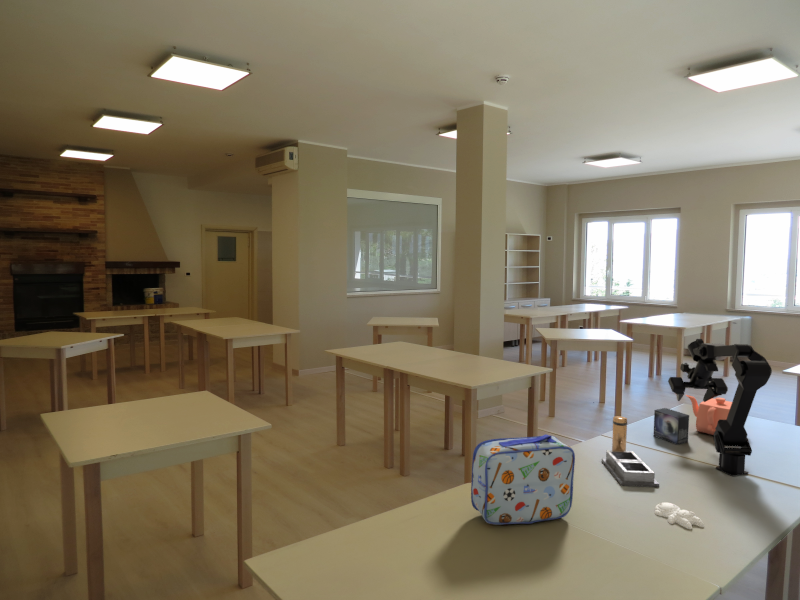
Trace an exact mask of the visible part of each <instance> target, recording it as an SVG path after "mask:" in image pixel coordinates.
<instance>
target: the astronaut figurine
mask: <svg viewBox="0 0 800 600" xmlns="http://www.w3.org/2000/svg"><path fill="white" fill-rule="evenodd" d="M654 514H655V515H656V516H659V517H664V518H667V522H668V523H669V524H671V525H672V524H678V525H679V526H681V527H683V528H686V529H687V530H692V529H693V526H694V525H695V526H698V527H701V528H704V527H705V523H704V522H703V520H702V519H701V518H700V517H698V516H696V513H695V512H693V511H691V510H690V511H689V510H687V509H681V507H680V506H678V505H676V504H675V503H671V502H667V501H666V502H665V501H663V502H660V503H658V504H656V506H654ZM692 525H693V526H692Z"/></svg>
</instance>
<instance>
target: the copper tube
mask: <svg viewBox="0 0 800 600" xmlns="http://www.w3.org/2000/svg"><path fill="white" fill-rule="evenodd" d="M627 431H628V418H627V417H625V416H621V415H620V416H619V415H617V416H616V415H614V416H613V417H612V443H611V445H612V446H611V451H627V435H628V434H627Z"/></svg>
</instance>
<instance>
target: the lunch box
mask: <svg viewBox="0 0 800 600" xmlns="http://www.w3.org/2000/svg"><path fill="white" fill-rule="evenodd" d="M471 463H472V464H471V465H472V466H471V485H470V486H471V487H470V491H471V493H470V499H471V500H470V501H471V505H472V507H473V508H474V509H475V510H476V511H478V512H479V514H480V515H481V517H482V518H483V520H484V521H485V523H487V524H489V525H513V524H527V525H528V524H533V523H537V522H544V521H550V520H551V521H552V520H557V519H562V518H564V517H566V516H567V515H568V514H569V512H570V510H571V508H572V506H573V505H572V504H573V496H574V481H575V480H574V476H575V465H576V464H575V463H576V454H575V450H574V449H573V447H571V446H569V445H567V444H565V443H563V442H562V441H560V440H559V438H557V437H556V436H554V435H549V434H543V435H537V436H525V437H524V436H523V437H522V436H521V437H505V438H504V437H503V438H493V439H487V440H484V441H481V442H479V443H478V444H477V445H476V447H475V448H474V450H473V453H472V462H471Z"/></svg>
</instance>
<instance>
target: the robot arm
mask: <svg viewBox="0 0 800 600" xmlns="http://www.w3.org/2000/svg"><path fill="white" fill-rule="evenodd" d="M754 349H755V348H754V347H752V345H750V344H748V343H747V344H746V343H734V344H727V345H726V344H724V343H711V342H710V343H708V342H707V343H705V342H704V340H703V338H696V339H695V340H693V341H692V342H690V343H689V344H688V345H687V350H688V352H689V353H690V356H691V359H692V360H693V363H691V362H681V364H680V366H679V367H680V371H681V372H682V373H686V374H687V379H688V380H689V381H684V380H683V378H682V377H680V376H669V378H668V381H667V382H668V384H669V388H670V390H671V392H673V393H675V394H676V400H677V401H678V402H680V401H681V400H682V398H683V397H684V395H685V392H686V389H693V390H694V389H695V390H706V391H705V393H704V395H703V398H702V402H703V401H704V402H706V401H708V400H710V399H712V398H713V399H715V398H718V396H719V397H720V396H722V395H727V393H728V391H729V387H728V386H727V384H726V382H725V380H724V379H723V378H722V377H721V378H720V377H712V376H713V374H714V372H719V368H718V363H717V361H724V360H726V359H728V358H731V357H732V358H733V359H732V361H731V362H732V363H731V366H732V369H733V370H734V372H735V373H734V376H735V378H736V380H737V383H738V384H737V387H736V389H735V393H734V396H733V399H732V401H731V402H732V404H731V407H730V410H729V413H728V416H727V419H726V420H719V421H718V423H717V427H716V428H715V429H716V431H715V432H714V435H713V440H714V449H715V452H716V453H719V454H718V455H719V456H718V457H719V458H718V466H715V469H716V470H718V471H721V472H722V473H726V474H727V475H729V476H732V477H735V476H742V475H743V476H744V475H748V474H749V471H746V470H745V465H746V456H748V457H749V456H750V457H751V455H752V453H753V450H752V449H753V448H752V446H751V445H750V441H749V439H748V433H747V430H746V428H745V426H746V422H747V420H748V417H749V415H750V411H751V408H752V406H753V403H754V399H755V397H756V394H757V392H758V390H760V389H761V388H762V387H764V386H766V385H767V383H768V381H769V379H770V378H771V376H772V372H773V371H772V367H771V365H770V363H769V362H768V361H767V359H766V358H765V357H764V356H763V355H762V354H760V353H758V352H757V351H756V350H754ZM739 358H747V359H748V360H740V359H739ZM694 362H695V363H694Z"/></svg>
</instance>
